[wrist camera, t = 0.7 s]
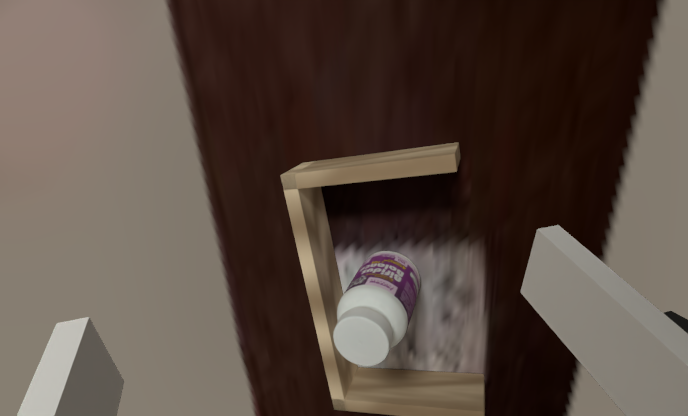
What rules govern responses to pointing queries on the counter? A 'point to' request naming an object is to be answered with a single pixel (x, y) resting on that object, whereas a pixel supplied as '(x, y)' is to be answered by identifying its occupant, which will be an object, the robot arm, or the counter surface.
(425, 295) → the counter surface
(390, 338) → the pill bottle
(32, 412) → the robot arm
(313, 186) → the wooden frame
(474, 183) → the counter surface
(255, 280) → the counter surface
